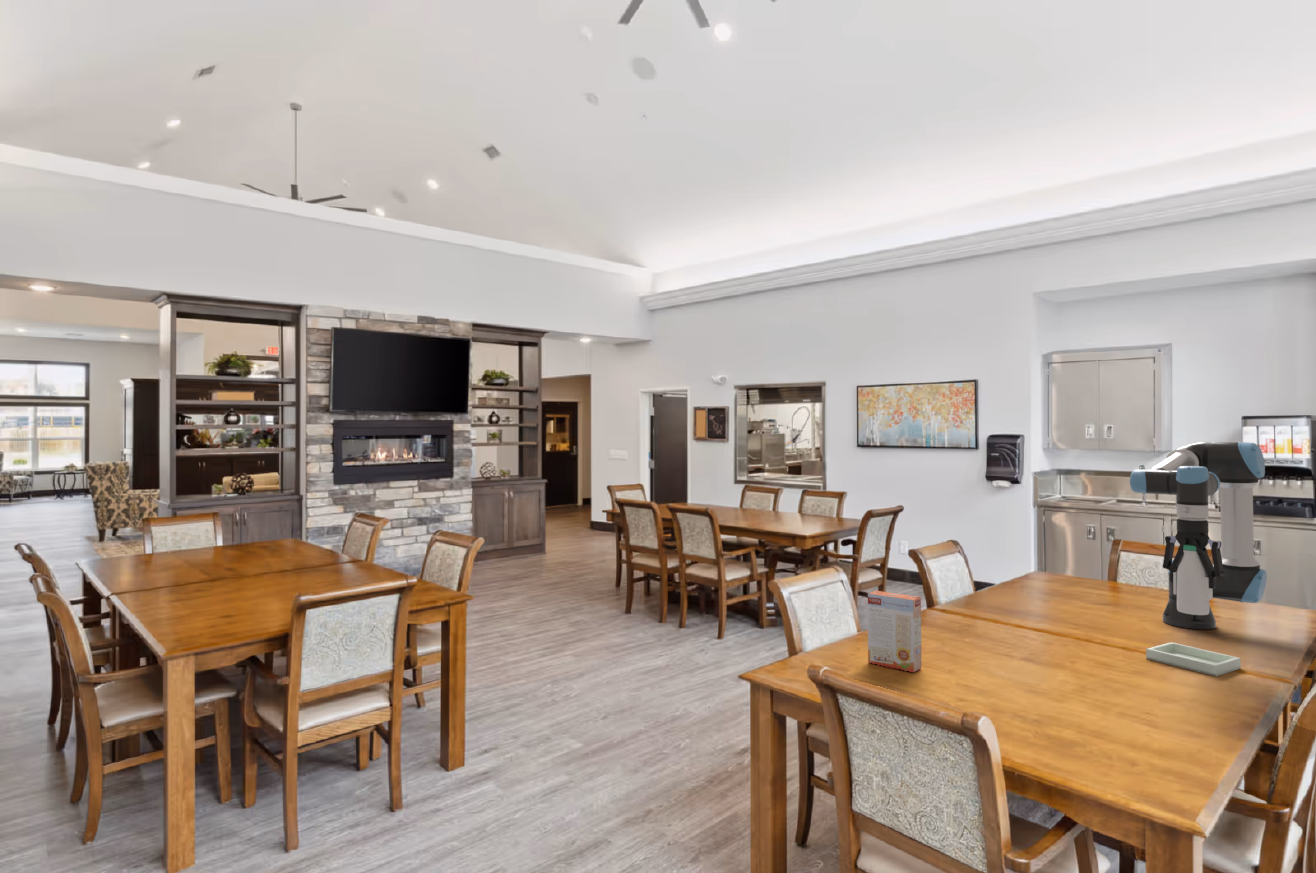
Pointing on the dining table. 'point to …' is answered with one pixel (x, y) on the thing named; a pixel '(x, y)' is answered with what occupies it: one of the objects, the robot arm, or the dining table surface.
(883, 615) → the cracker box
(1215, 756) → the dining table surface
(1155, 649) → the tray
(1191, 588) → the milk bottle
